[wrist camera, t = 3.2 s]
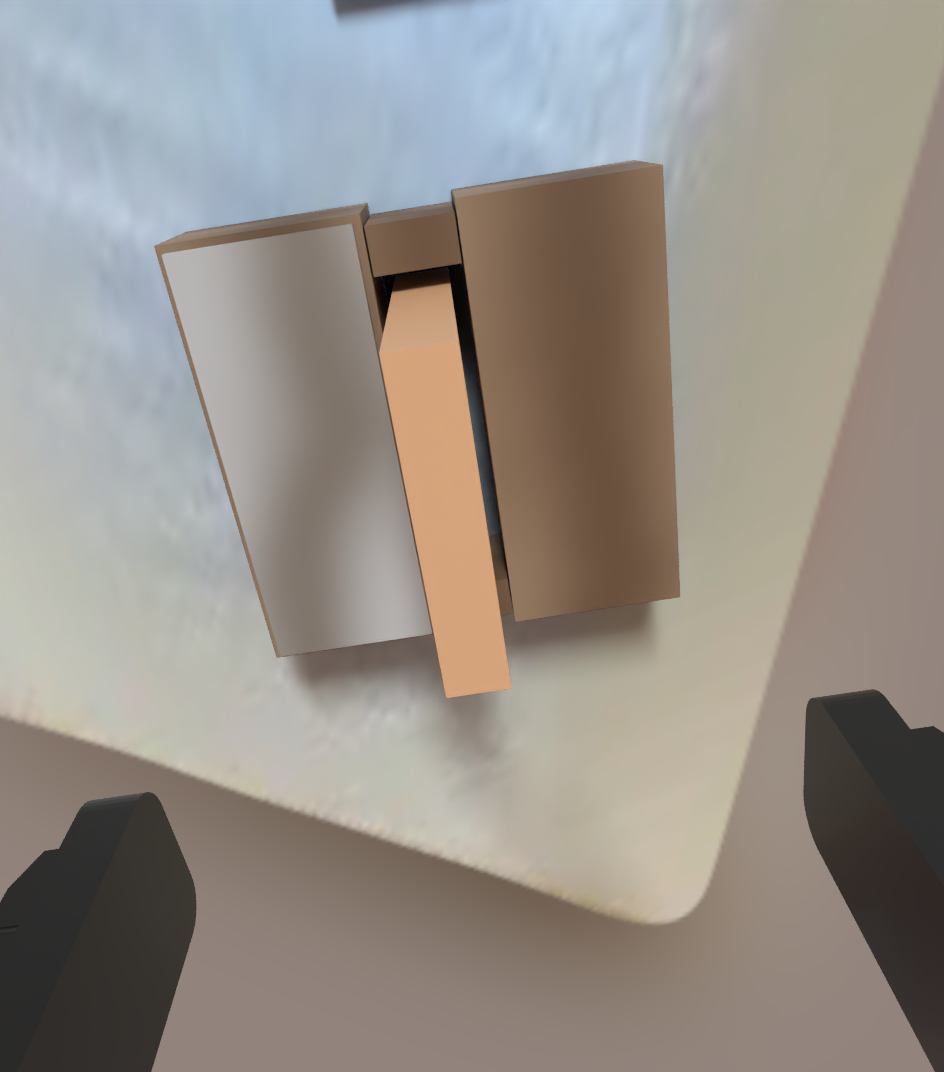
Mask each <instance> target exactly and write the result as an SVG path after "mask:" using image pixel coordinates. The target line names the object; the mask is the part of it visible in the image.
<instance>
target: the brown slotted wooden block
mask: <svg viewBox="0 0 944 1072" xmlns="http://www.w3.org/2000/svg"><path fill="white" fill-rule="evenodd" d="M451 192H452V199H453V206H454V209H453V206H452V203H451V202H446V203H440V204H434V205H428V206H421V207H415V208H409V209H403V210H396V211H390V212H384V213H377V214H371V216H370V215H369V209H368V204H367V203H365V204H359V205H352V206H346V207H340V208H334V209H327V210H321V211H315V212H309V213H302V214H296V215H290V216H284V217H277V218H271V219H265V220H259V221H252V222H246V223H240V224H233V225H227V226H221V227H215V228H208V229H202V230H196V231H190V232H185V233H183V234H181V235H178V236H176V237H174V238H172V239H169V240H167V241H165V242H162V243H160V244H158V245H156V246H154V247H155V250H156V254H157V257H158V260H159V264H160V267H161V271H162V274H163V277H164V281H165V284H166V287H167V291H168V294H169V297H170V301H171V304H172V308H173V311H174V314H175V318H176V321H177V324H178V328H179V331H180V334H181V338H182V341H183V344H184V348H185V351H186V355H187V358H188V361H189V365H190V368H191V371H192V375H193V378H194V381H195V385H196V388H197V392H198V395H199V398H200V402H201V405H202V408H203V412H204V415H205V418H206V422H207V425H208V428H209V432H210V435H211V439H212V442H213V445H214V449H215V452H216V455H217V459H218V462H219V465H220V469H221V472H222V476H223V479H224V482H225V486H226V489H227V492H228V496H229V499H230V502H231V506H232V509H233V512H234V516H235V519H236V523H237V526H238V529H239V533H240V536H241V539H242V543H243V546H244V549H245V553H246V556H247V559H248V563H249V566H250V570H251V573H252V576H253V580H254V583H255V586H256V590H257V593H258V596H259V600H260V603H261V607H262V610H263V613H264V617H265V620H266V623H267V627H268V630H269V633H270V637H271V640H272V643H273V647H274V650H275V654H276V657H284V656H291V655H297V654H304V653H311V652H317V651H324V650H331V649H337V648H344V647H351V646H357V645H364V644H371V643H377V642H384V641H391V640H397V639H404V638H411V637H417V636H424V635H431V634H434V632H433V627H432V622H431V617H430V612H429V607H428V601H427V596H426V591H425V586H424V581H423V576H422V571H421V566H420V560H419V555H418V550H417V545H416V540H415V535H414V530H413V525H412V519H411V514H410V509H409V504H408V499H407V494H406V489H405V484H404V478H403V473H402V468H401V463H400V458H399V453H398V448H397V443H396V437H395V432H394V427H393V422H392V417H391V412H390V407H389V402H388V396H387V391H386V386H385V381H384V376H383V371H382V366H381V361H380V355H379V351H380V346H381V342H382V337H383V332H384V327H385V323H386V318H387V313H388V311H387V306H386V300H385V295H384V290H383V284H382V279H381V276H384V275H391V274H397V273H403V272H409V271H416V270H422V269H428V268H435V267H441V266H447V265H454V264H460V263H462V268H463V275H464V282H465V289H466V296H467V303H468V310H469V317H470V324H471V331H472V337H473V344H474V351H475V358H476V365H477V372H478V379H479V386H480V393H481V400H482V407H483V414H484V421H485V428H486V435H487V441H488V448H489V455H490V462H491V469H492V476H493V483H494V490H495V497H496V504H497V511H498V518H499V525H500V532H501V539H502V545H503V552H504V557H503V552H502V546H501V541H500V535H493V536H489V541H490V548H491V555H492V561H493V568H494V575H495V581H496V588H497V595H498V601H499V608H500V615H507V614H512V607H513V612H514V618H515V622H517V621H524V620H531V619H537V618H544V617H551V616H557V615H564V614H571V613H577V612H584V611H591V610H597V609H604V608H611V607H617V606H624V605H631V604H637V603H644V602H651V601H657V600H664V599H671V598H677V597H680V581H679V556H678V531H677V507H676V482H675V457H674V432H673V407H672V383H671V358H670V333H669V308H668V283H667V259H666V234H665V209H664V184H663V165H660V164H654V163H648V162H642V161H635V160H634V161H628V162H621V163H615V164H609V165H602V166H596V167H590V168H584V169H577V170H571V171H565V172H559V173H552V174H546V175H540V176H534V177H527V178H521V179H515V180H509V181H502V182H496V183H490V184H484V185H477V186H471V187H465V188H459V189H452V190H451ZM504 559H505V563H504ZM505 566H506V568H505ZM506 573H507V574H506ZM507 579H508V580H507ZM508 584H509V587H508ZM509 590H510V593H509ZM510 596H511V600H510ZM511 601H512V607H511Z"/></svg>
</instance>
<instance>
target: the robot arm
mask: <svg viewBox="0 0 944 1072" xmlns="http://www.w3.org/2000/svg"><path fill="white" fill-rule="evenodd" d="M804 805H805V811H806V816H807V820H808V824H809V827H810V830H811V834H812V837H813V839H814V842H815V844H816V846H817V848H818V850H819V852H820V854H821V856H822V858H823V860H824V862H825V864H826V865H827V867H828V869H829V871H830V873H831V875H832V877H833V879H834V881H835V883H836V885H837V886H838V888H839V890H840V892H841V894H842V896H843V898H844V900H845V902H846V904H847V905H848V907H849V909H850V911H851V913H852V915H853V917H854V919H855V921H856V922H857V924H858V926H859V928H860V930H861V932H862V934H863V936H864V938H865V940H866V942H867V944H868V945H869V947H870V949H871V951H872V953H873V955H874V957H875V959H876V961H877V963H878V964H879V966H880V968H881V970H882V972H883V974H884V976H885V978H886V979H887V981H888V983H889V985H890V987H891V989H892V991H893V993H894V995H895V997H896V999H897V1001H898V1002H899V1004H900V1006H901V1008H902V1010H903V1012H904V1014H905V1016H906V1018H907V1019H908V1021H909V1023H910V1025H911V1027H912V1029H913V1031H914V1033H915V1035H916V1037H917V1039H918V1040H919V1042H920V1044H921V1046H922V1048H923V1050H924V1052H925V1054H926V1055H927V1057H928V1059H929V1061H930V1063H931V1065H932V1067H933V1069H934V1071H935V1072H944V733H943V732H942V731H940V730H939V729H937V728H935V727H934V726H931V727H924V728H917V729H910V728H909V727H908V726H907V724H906V723H905V722H904V721H903V719H902V718H901V717H900V715H899V714H898V713H897V711H896V710H895V709H894V708H893V707H892V705H891V704H890V703H889V701H888V700H887V699H886V698H885V696H884V695H883V694H882V693H880V692H879V691H877V690H873V689H872V690H865V691H858V692H851V693H844V694H837V695H830V696H824V697H817V698H812V699H810V700H809V702H808V704H807V708H806V727H805V760H804ZM195 919H196V893H195V887H194V883H193V879H192V876H191V874H190V871H189V869H188V866H187V864H186V862H185V859H184V857H183V855H182V852H181V850H180V847H179V845H178V842H177V840H176V838H175V835H174V833H173V830H172V828H171V826H170V823H169V821H168V819H167V816H166V814H165V811H164V809H163V807H162V804H161V802H160V801H159V799H158V798H157V796H155V795H154V794H153V793H150V792H146V793H139V794H132V795H125V796H118V797H111V798H104V799H97V800H91V801H88V802H87V803H85V804H84V805H83V806H82V807H81V808H80V810H79V812H78V813H77V815H76V817H75V819H74V821H73V823H72V825H71V827H70V829H69V831H68V832H67V834H66V836H65V838H64V840H63V842H62V844H61V846H60V848H59V849H55V850H48V851H44V852H43V853H42V854H41V855H40V856H39V857H38V858H37V859H36V861H34V862H33V864H31V865H30V867H29V868H28V869H27V870H26V871H25V872H24V873H23V874H22V875H21V876H20V877H19V878H18V879H17V880H16V881H15V882H14V883H13V884H12V885H11V886H10V887H9V888H8V890H7V891H6V893H5V895H4V897H3V898H2V900H1V902H0V1072H151V1070H152V1067H153V1064H154V1061H155V1057H156V1054H157V1051H158V1047H159V1044H160V1041H161V1037H162V1034H163V1031H164V1028H165V1024H166V1021H167V1018H168V1014H169V1011H170V1008H171V1004H172V1001H173V998H174V995H175V991H176V987H177V985H178V981H179V978H180V974H181V971H182V968H183V965H184V961H185V958H186V955H187V952H188V948H189V945H190V942H191V938H192V935H193V931H194V926H195Z"/></svg>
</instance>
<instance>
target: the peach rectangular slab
mask: <svg viewBox="0 0 944 1072" xmlns="http://www.w3.org/2000/svg"><path fill="white" fill-rule="evenodd" d="M379 355H380V361H381V366H382V371H383V376H384V381H385V386H386V391H387V396H388V402H389V407H390V412H391V417H392V422H393V427H394V432H395V437H396V443H397V448H398V453H399V458H400V463H401V468H402V473H403V478H404V484H405V489H406V494H407V499H408V504H409V509H410V514H411V519H412V525H413V530H414V535H415V540H416V545H417V550H418V555H419V560H420V566H421V571H422V576H423V581H424V586H425V591H426V596H427V601H428V607H429V612H430V617H431V622H432V627H433V632H434V637H435V642H436V648H437V653H438V658H439V663H440V668H441V673H442V678H443V683H444V689H445V694H446V698H451V697H458V696H465V695H471V694H478V693H485V692H492V691H498V690H505V689H512V688H511V682H510V675H509V668H508V662H507V655H506V648H505V642H504V635H503V628H502V622H501V615H500V608H499V601H498V595H497V588H496V581H495V575H494V568H493V561H492V555H491V548H490V541H489V535H488V528H487V521H486V515H485V508H484V502H483V495H482V488H481V482H480V475H479V469H478V462H477V455H476V449H475V442H474V436H473V429H472V422H471V416H470V409H469V403H468V396H467V389H466V383H465V376H464V370H463V363H462V356H461V350H460V343H459V337H458V330H457V323H456V317H455V310H454V304H453V297H452V290H451V284H450V277H449V271H448V268H443V269H436V270H430V271H424V272H417V273H411V274H405V275H398V276H395V281H394V285H393V290H392V295H391V299H390V304H389V309H388V313H387V318H386V323H385V327H384V332H383V337H382V342H381V346H380V351H379Z"/></svg>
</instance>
